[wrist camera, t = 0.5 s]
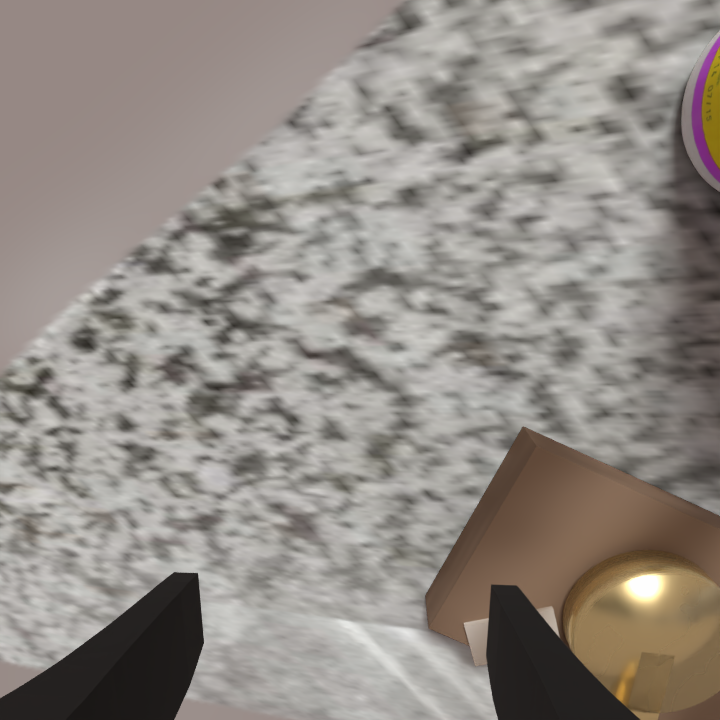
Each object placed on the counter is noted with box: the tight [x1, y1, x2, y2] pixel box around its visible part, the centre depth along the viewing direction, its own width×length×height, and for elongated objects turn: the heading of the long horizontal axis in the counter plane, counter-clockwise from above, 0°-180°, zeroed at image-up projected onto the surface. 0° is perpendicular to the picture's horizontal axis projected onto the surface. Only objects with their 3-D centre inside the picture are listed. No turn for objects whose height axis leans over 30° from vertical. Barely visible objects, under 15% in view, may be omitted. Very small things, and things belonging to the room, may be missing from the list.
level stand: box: [425, 427, 720, 720], centre depth 21 cm, size 14×10×4 cm
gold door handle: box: [563, 550, 720, 720], centre depth 18 cm, size 10×6×4 cm, turn 176°
